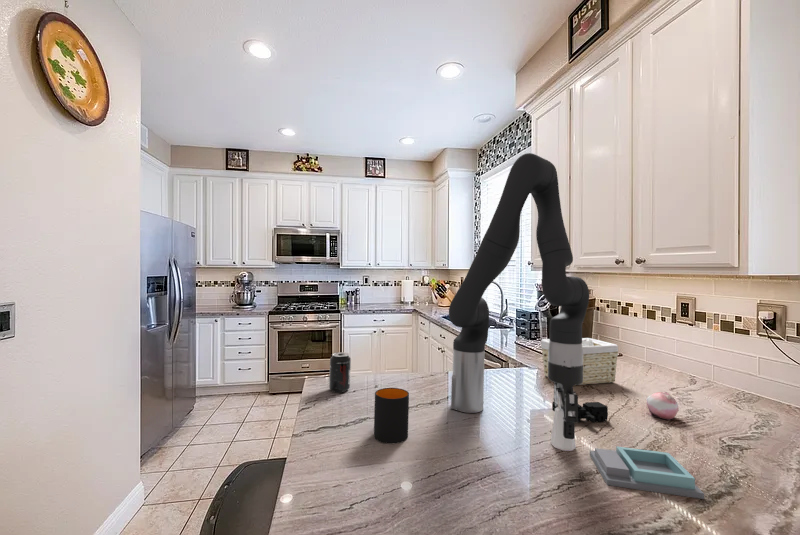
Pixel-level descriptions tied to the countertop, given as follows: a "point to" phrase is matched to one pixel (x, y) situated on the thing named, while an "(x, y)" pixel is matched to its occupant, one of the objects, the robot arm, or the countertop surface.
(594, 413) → the toy
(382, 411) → the mug
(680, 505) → the countertop surface
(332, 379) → the beverage can
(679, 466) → the grey and blue tray
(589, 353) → the storage basket
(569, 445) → the salt shaker
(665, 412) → the onion
